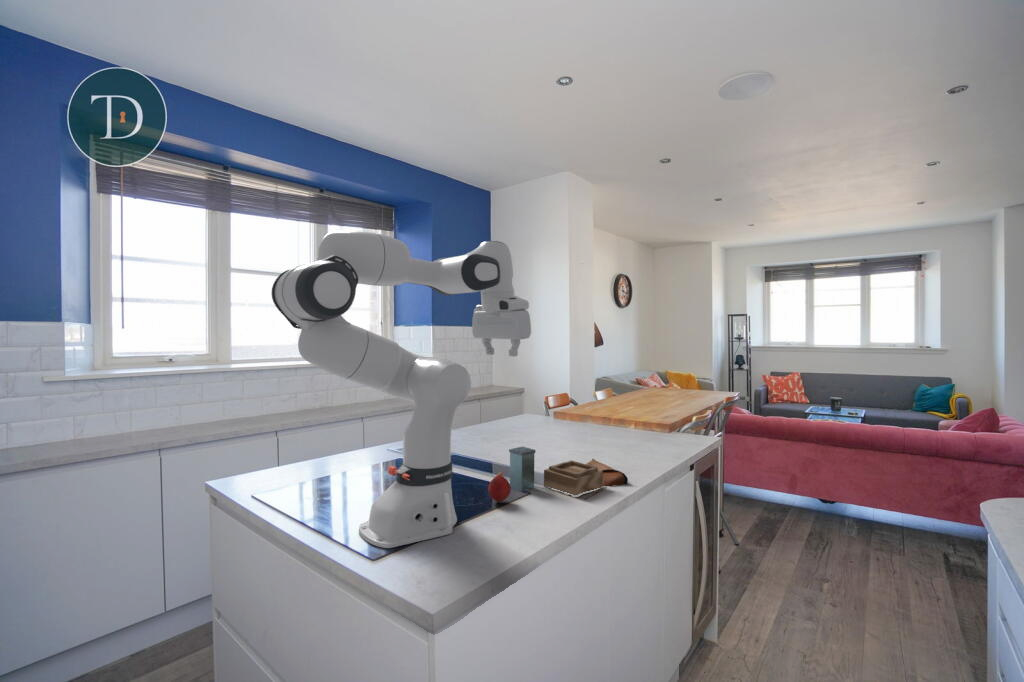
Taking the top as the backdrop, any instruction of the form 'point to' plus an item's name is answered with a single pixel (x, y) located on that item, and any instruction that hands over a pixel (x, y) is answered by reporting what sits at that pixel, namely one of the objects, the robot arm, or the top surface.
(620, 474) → the sunglasses case
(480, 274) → the robot arm
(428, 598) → the top surface
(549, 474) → the walnut stand
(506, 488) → the onion
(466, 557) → the top surface
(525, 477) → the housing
